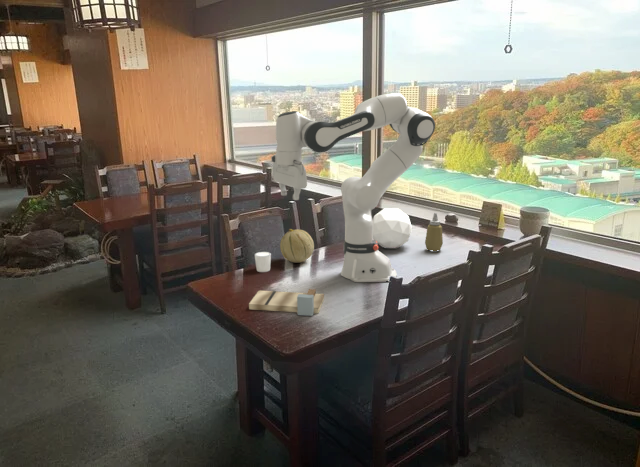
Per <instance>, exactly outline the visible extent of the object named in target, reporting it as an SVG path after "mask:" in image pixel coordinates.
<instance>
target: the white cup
mask: <svg viewBox="0 0 640 467" xmlns="http://www.w3.org/2000/svg"><path fill="white" fill-rule="evenodd" d="M271 260H272V253H271V252H268V251H259V252H256V253H254V261H255V267H256V271H257V272H259V273H267V272H270V271H271V263H272V262H271Z"/></svg>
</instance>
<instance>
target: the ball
mask: <svg viewBox="0 0 640 467" xmlns="http://www.w3.org/2000/svg"><path fill="white" fill-rule="evenodd" d="M372 220H373V240H374V241H375V242H376V241H377V243H378V246H380V247H382V248H383V247H384V248H383V249H398V248H400V247H401V246H402V245H405V244H406V243H407V242H408V241H409V240H410V237H411V234H412V231H413V227H412V224H411V220H410V216H409V215H408V214H406V213H405V212H403V211H402V210H401V209H399V208H393V207H391V208H389V207H384V208H383V209H381V210H380V211H378V213H376V214H375V215H373V217H372Z"/></svg>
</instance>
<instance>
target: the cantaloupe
mask: <svg viewBox="0 0 640 467" xmlns="http://www.w3.org/2000/svg"><path fill="white" fill-rule="evenodd" d="M279 247H280V253H281V254H282V256H283V258H284V259H285V260H287V261H289V262H290V263H296V264H297V263H303V262H306V261H307V260H309V259H310V257H311V256H312V255H313V253H314V249H315V243H314V240H313V238H312V236H311V235H310V234H309V232H308V231H306V230H303V229H292V228H289V229H288V231H287V232H286V233H284V235H283V236H282V237H281V239H280V243H279Z"/></svg>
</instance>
